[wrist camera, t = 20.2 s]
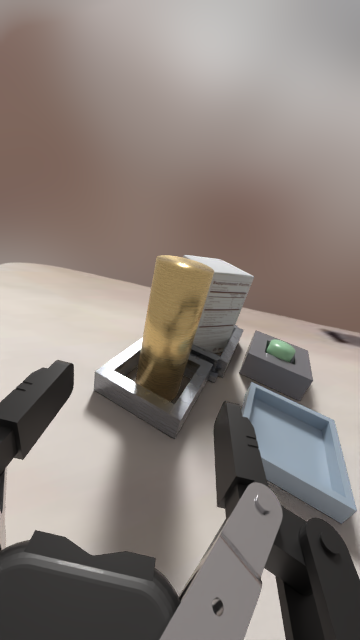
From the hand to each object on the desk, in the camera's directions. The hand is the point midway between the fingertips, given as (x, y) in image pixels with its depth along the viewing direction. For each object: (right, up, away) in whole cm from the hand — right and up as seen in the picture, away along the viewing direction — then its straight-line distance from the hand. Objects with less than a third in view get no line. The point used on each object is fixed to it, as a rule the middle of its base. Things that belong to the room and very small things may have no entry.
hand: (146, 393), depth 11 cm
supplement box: (+4, 0, +24) cm, 24 cm away
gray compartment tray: (+2, -2, +18) cm, 19 cm away
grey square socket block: (+15, -4, +21) cm, 26 cm away
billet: (-1, -4, +13) cm, 14 cm away
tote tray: (+12, -8, +10) cm, 18 cm away
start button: (+15, -2, +20) cm, 26 cm away
